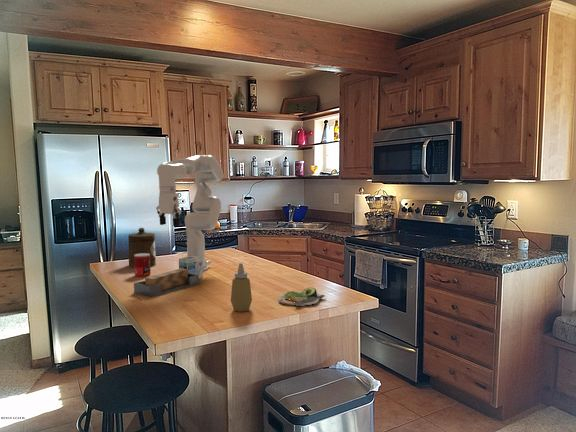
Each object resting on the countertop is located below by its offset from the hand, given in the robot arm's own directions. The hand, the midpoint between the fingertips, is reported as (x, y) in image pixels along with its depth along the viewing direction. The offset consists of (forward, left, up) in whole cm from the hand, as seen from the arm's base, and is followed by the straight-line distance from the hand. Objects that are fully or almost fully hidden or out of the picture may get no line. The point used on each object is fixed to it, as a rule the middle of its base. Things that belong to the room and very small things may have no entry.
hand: (169, 225), depth 207 cm
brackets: (+10, +10, -28) cm, 31 cm away
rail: (+10, +10, -27) cm, 30 cm away
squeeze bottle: (+14, +59, -28) cm, 67 cm away
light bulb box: (-10, +3, -28) cm, 30 cm away
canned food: (0, -23, -28) cm, 36 cm away
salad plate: (-10, +70, -28) cm, 76 cm away
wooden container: (-16, -46, -28) cm, 56 cm away
